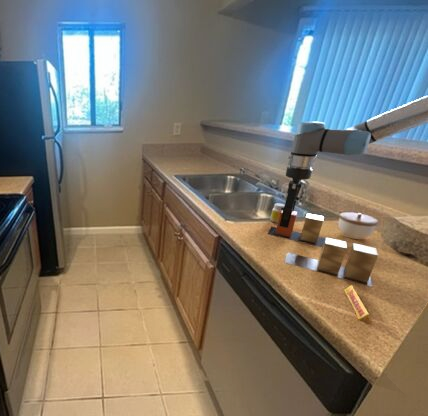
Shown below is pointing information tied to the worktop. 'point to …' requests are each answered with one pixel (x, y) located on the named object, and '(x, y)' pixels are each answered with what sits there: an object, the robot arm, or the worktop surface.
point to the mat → (296, 237)
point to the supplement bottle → (276, 213)
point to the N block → (360, 262)
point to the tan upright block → (332, 255)
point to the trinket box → (356, 225)
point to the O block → (311, 228)
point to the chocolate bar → (357, 305)
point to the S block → (288, 231)
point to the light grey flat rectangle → (313, 264)
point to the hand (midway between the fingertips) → (286, 220)
